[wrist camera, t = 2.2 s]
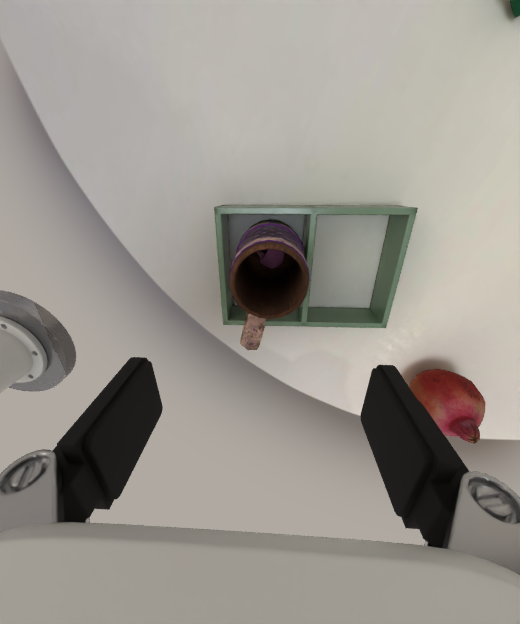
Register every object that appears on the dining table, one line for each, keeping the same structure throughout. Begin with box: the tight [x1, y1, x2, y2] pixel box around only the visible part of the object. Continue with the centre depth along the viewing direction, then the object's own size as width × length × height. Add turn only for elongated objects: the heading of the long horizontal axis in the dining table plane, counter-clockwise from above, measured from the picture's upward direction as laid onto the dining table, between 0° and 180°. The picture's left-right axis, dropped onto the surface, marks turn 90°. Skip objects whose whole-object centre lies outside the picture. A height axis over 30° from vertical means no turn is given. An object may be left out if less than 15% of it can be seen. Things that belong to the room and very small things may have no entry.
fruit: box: [409, 369, 485, 443], centre depth 31 cm, size 8×8×10 cm
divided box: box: [214, 205, 418, 328], centre depth 27 cm, size 19×13×4 cm
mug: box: [229, 220, 310, 350], centre depth 24 cm, size 10×7×12 cm
